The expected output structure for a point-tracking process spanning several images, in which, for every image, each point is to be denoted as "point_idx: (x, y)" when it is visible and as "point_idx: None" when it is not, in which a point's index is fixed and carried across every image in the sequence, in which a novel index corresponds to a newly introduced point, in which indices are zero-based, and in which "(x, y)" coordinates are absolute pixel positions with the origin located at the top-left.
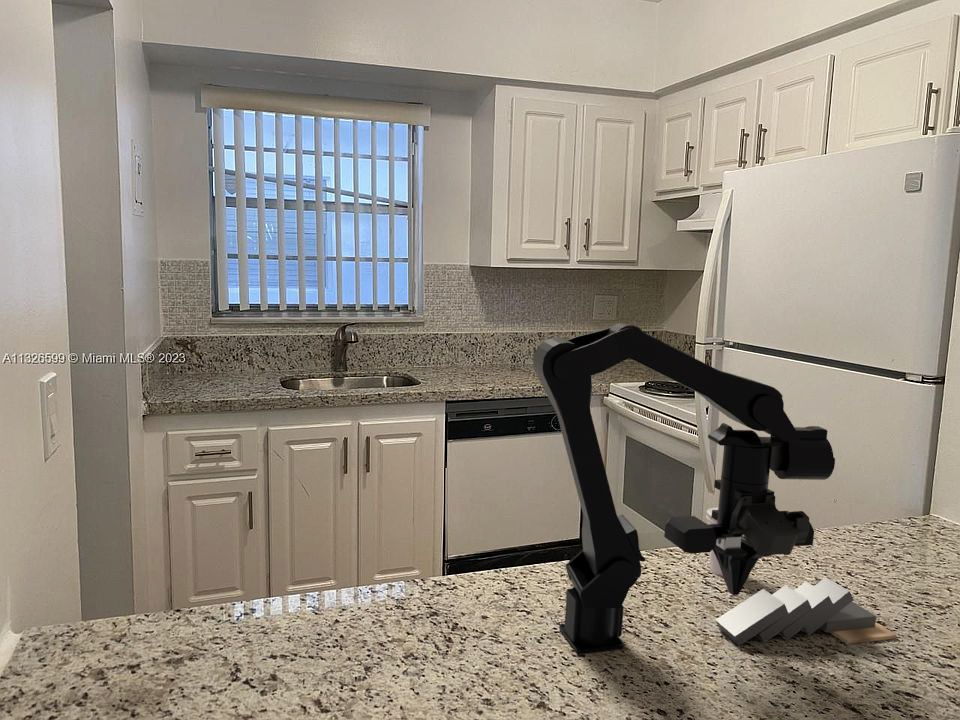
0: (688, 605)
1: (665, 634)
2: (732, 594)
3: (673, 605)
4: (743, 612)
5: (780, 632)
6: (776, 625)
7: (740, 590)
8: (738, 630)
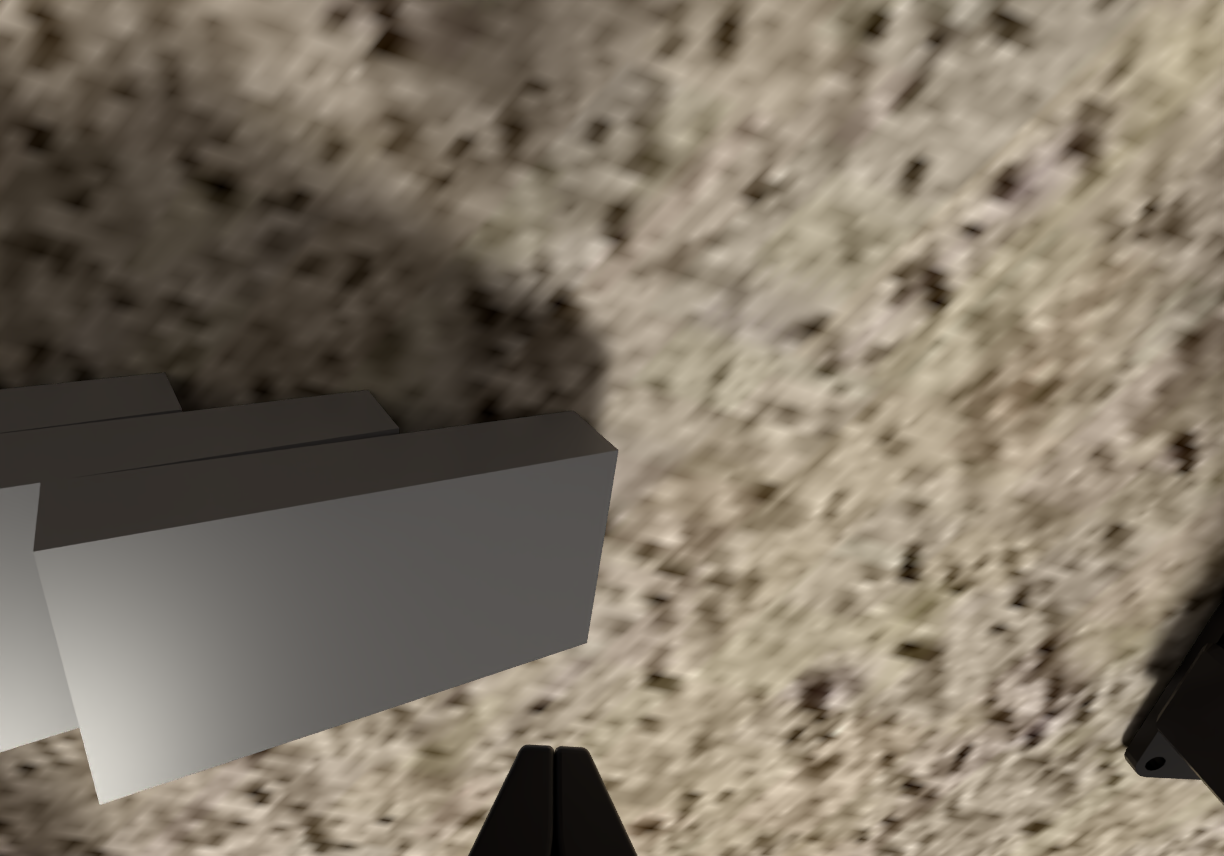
0: None
1: (901, 621)
2: (587, 758)
3: None
4: (421, 623)
5: None
6: (224, 439)
7: (510, 783)
8: (565, 484)
